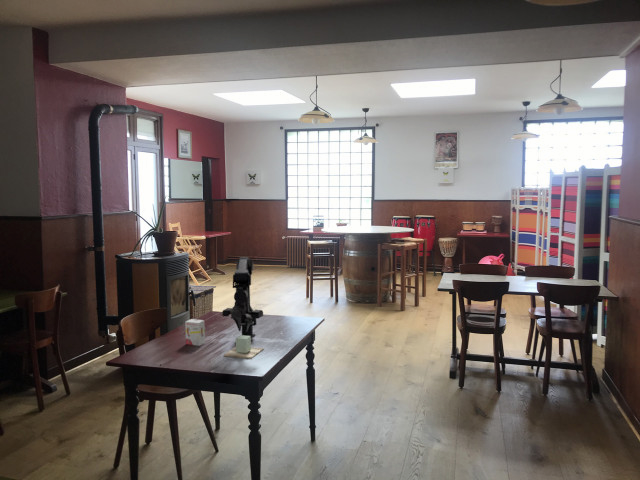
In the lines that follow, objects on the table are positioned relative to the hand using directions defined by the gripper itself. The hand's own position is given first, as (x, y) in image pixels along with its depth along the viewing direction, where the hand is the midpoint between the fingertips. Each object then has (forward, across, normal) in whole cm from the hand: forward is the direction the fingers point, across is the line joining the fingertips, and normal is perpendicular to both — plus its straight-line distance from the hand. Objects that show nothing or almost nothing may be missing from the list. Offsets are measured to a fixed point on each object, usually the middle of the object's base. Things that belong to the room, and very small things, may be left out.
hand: (243, 331), depth 242 cm
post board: (+10, 0, 0) cm, 10 cm away
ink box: (+11, -30, +7) cm, 33 cm away
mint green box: (+10, 0, 0) cm, 10 cm away
